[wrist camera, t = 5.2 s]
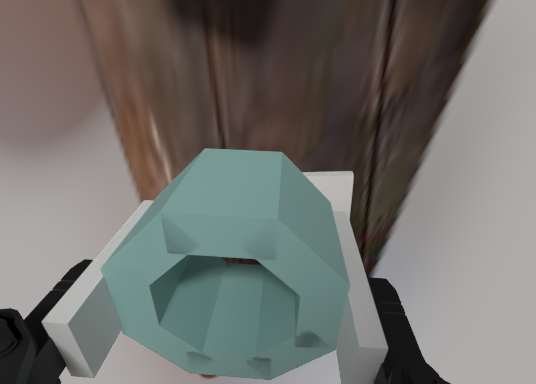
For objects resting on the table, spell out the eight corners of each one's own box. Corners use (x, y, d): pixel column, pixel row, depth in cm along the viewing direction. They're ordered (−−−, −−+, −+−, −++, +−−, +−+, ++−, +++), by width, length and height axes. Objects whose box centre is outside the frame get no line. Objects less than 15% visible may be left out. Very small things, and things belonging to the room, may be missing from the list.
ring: (242, 111, 12) (214, 160, 7) (360, 233, 14) (391, 324, 10) (133, 219, 15) (67, 300, 10) (246, 303, 17) (231, 397, 13)
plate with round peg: (251, 173, 32) (236, 227, 24) (352, 171, 31) (375, 227, 23) (258, 249, 38) (248, 315, 29) (344, 249, 37) (361, 318, 28)
